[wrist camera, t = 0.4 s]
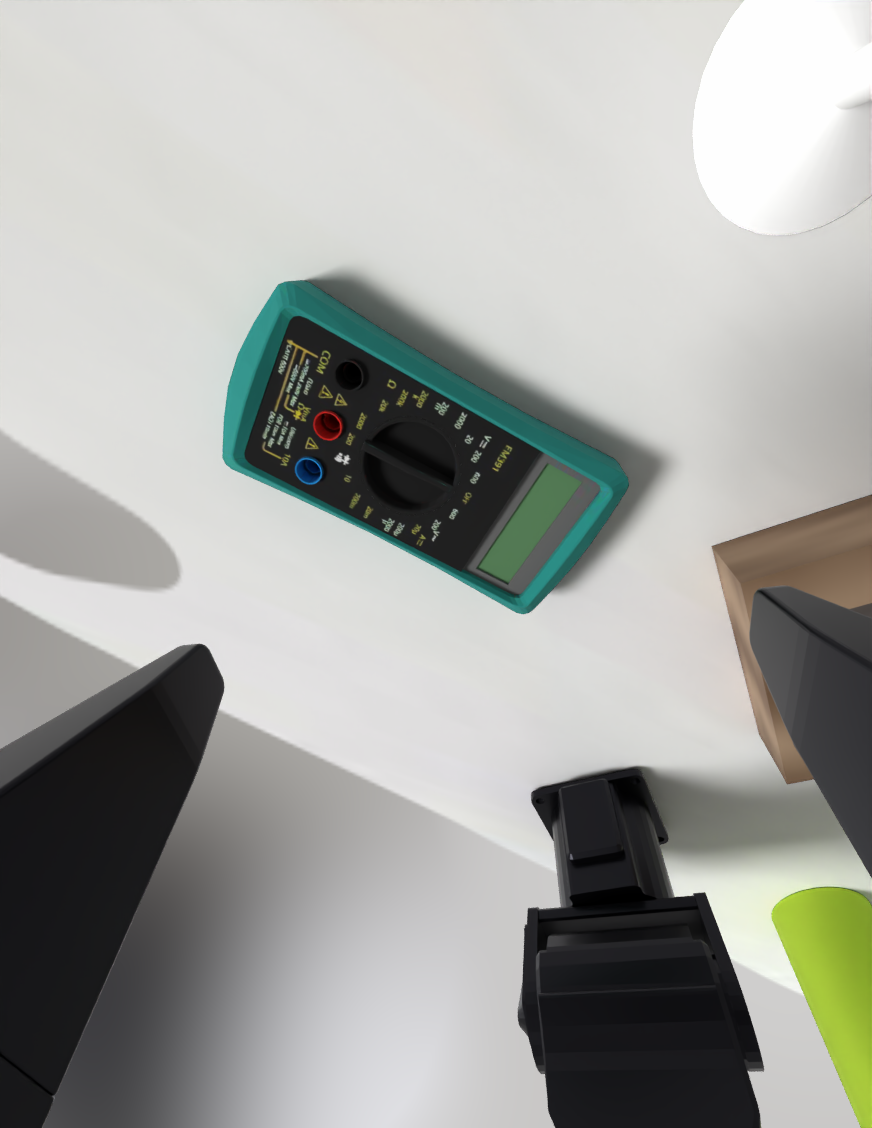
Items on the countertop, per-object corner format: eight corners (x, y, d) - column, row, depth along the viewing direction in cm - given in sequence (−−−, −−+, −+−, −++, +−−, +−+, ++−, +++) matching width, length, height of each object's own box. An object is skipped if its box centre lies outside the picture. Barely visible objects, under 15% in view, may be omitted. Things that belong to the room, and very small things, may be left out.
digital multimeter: (287, 265, 19) (255, 267, 16) (626, 461, 21) (643, 489, 19) (231, 439, 23) (198, 462, 20) (527, 591, 25) (530, 629, 22)
